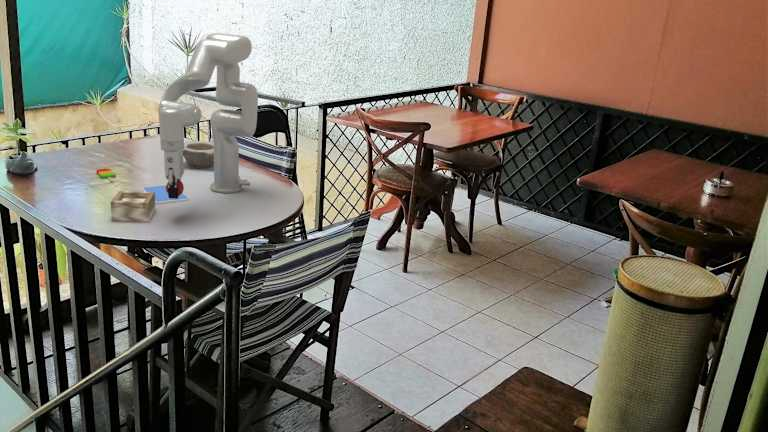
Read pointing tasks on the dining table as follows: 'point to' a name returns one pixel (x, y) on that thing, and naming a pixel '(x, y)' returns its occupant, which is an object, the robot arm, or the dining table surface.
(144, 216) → the wooden box
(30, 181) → the dining table surface
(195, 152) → the mortar
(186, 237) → the dining table surface
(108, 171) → the popsicle
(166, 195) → the tablet computer
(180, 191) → the onion
